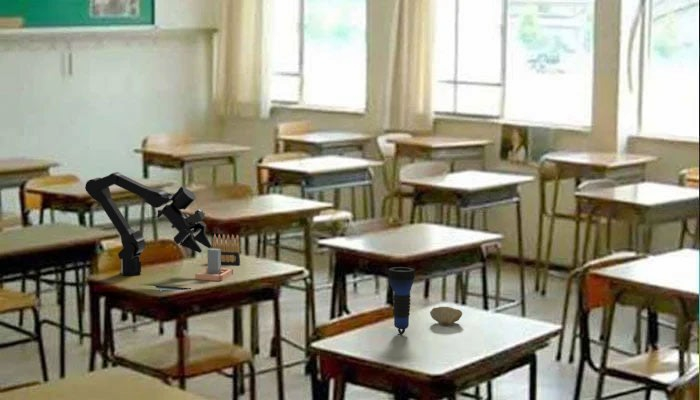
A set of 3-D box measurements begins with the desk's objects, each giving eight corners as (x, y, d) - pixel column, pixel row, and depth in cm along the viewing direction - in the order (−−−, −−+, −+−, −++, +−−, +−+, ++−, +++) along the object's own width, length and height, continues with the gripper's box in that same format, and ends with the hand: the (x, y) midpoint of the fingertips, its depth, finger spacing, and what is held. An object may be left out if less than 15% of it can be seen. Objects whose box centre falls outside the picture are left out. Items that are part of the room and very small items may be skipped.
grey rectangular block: (207, 276, 422) (207, 249, 420) (210, 275, 425) (210, 248, 423) (218, 277, 421) (217, 250, 419) (220, 275, 424) (220, 248, 422)
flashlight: (398, 328, 357) (399, 265, 354) (418, 333, 353) (420, 268, 350) (382, 334, 351) (383, 269, 348) (403, 338, 346) (404, 272, 343)
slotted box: (195, 282, 418) (195, 274, 418) (207, 275, 430) (207, 267, 429) (221, 284, 416) (221, 275, 415) (232, 277, 427) (232, 269, 427)
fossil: (466, 308, 361) (435, 302, 358) (466, 320, 358) (435, 315, 356) (455, 321, 368) (425, 316, 366) (455, 333, 365) (425, 328, 363)
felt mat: (159, 291, 403) (159, 290, 403) (154, 285, 412) (154, 285, 412) (191, 289, 407) (191, 288, 407) (185, 283, 416) (185, 282, 415)
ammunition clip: (212, 264, 449) (211, 234, 448) (213, 263, 451) (212, 233, 449) (239, 265, 448) (239, 234, 447) (240, 264, 450) (240, 234, 448)
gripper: (181, 207, 412) (211, 239, 411) (200, 199, 430) (229, 230, 429) (161, 228, 415) (190, 260, 414) (181, 219, 433) (209, 250, 432)
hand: (205, 249), depth 422 cm, fingers open, 9 cm apart
